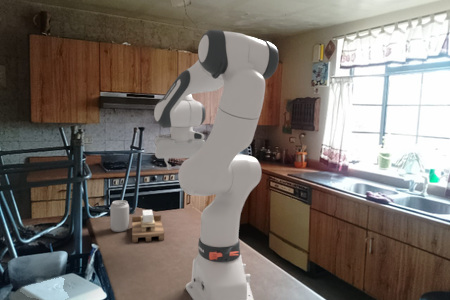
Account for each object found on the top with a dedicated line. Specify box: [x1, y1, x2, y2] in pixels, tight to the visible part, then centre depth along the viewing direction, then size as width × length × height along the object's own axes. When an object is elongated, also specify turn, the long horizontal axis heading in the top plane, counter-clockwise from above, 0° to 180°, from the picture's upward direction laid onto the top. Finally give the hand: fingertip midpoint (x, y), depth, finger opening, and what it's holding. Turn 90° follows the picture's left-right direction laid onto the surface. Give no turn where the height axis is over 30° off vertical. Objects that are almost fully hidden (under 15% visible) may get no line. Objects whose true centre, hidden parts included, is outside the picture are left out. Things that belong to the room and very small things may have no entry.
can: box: [109, 199, 130, 233], centre depth 139 cm, size 8×8×12 cm
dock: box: [131, 214, 165, 243], centre depth 135 cm, size 16×12×5 cm
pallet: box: [140, 215, 155, 232], centre depth 135 cm, size 10×5×3 cm, turn 16°
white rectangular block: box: [142, 209, 154, 223], centre depth 135 cm, size 7×4×3 cm, turn 16°
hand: (181, 169), depth 131 cm, fingers open, 8 cm apart
